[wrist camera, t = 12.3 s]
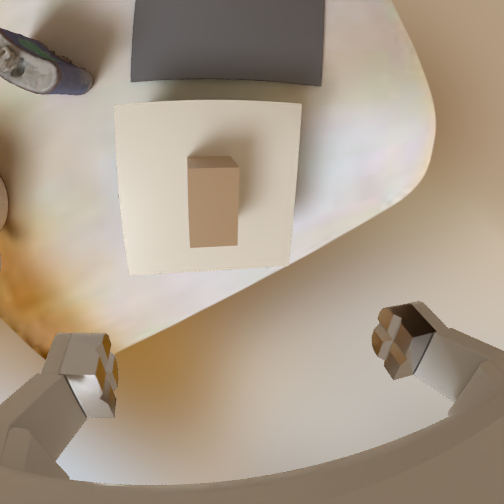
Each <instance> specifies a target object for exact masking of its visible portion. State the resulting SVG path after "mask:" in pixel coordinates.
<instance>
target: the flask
mask: <svg viewBox="0 0 504 504" xmlns="http://www.w3.org/2000/svg"><path fill="white" fill-rule="evenodd" d="M71 62H72V61H70V60H69V59H68V58H65V57H64V56H57V55H56V54H55V51H50V50H48V48H47V46H45V45H44V44H43V43H41V42H40V41H36V40H33V39H30V38H28V37H25V36H23V35H21V34H16V33H13V32H10V31H8V30H4V29H1V28H0V76H1V77H2V78H4V79H5V80H7V81H8V82H10V83H12V84H15V85H16V86H18V87H20V88H23V89H25V90H27V91H30V92H33V93H36V94H68V95H82V94H85V93H86V92H88V91H89V89H90V88H91V87H92V84H93V82H94V81H93V77H92V75H91V74H90V73H89V72H88V71H86V70H85V68H80V67H77V66H76V65H74V64H73V63H71Z"/></svg>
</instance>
